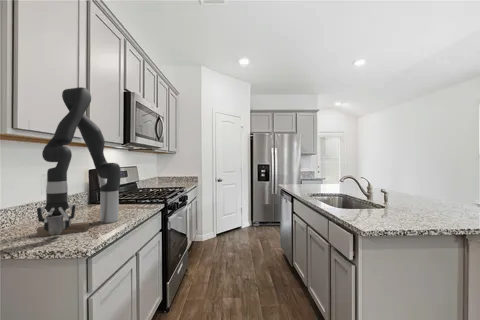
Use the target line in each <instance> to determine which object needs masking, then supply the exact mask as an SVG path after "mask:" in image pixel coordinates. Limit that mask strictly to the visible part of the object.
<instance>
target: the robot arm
mask: <svg viewBox="0 0 480 320" xmlns="http://www.w3.org/2000/svg"><path fill="white" fill-rule="evenodd" d="M61 93H62V94H61V97H62V100H63V103H64V105H65V107H66V108H67V110H68V112H67V114H66V115H65V116H64V117H63V118H62V119H60V121H59V123H58V124H57V127H56V129H55V132H54V135H53V136H52V137H51V138H50V139H49V141H48V142H47V144H46V145H45V146H44V148H43V150H42V151H41V152H42V153H41V154H42V159H43V160H44V161H46V162H48V163H56V165H55V167H51V168H48V169H47V173H46V189H45V192H46V193H45V197H46V199H45V201H46V203H45V206H42V207H41V206H39V207H37V208H36V214H37V221H38V223H39V222H40V223H43V227H44V230H46V231H49V228H48V222H47V219H46V217H45V218H43V217H44V216H43V212H44V211H46V212H47V213H48V214H47V215H46V216H48V217H50V216H51V215H61V214H62V215H63V219H65V220H66V221H65V229H67V228H68V227H69V220H73V219H74V218H75V213H76V206H77V205H76V204H69V203H68V194H69V193H68V192H69V191H68V186H69V185H68V170H69V167H70V163H71V161H72V155H73V154H72V151H71V149H70V148H69V147H68V146H67V145H70V144H72V141H73V139H74V136H75V133H76V131H77V129H78V130H79V132H80V135H81V137H82V139H83V143H84V144H85V145H86V148H87V149H88V152H89V154H90V157H91V160H92V161H93V165H94V168H95V170H96V173H97V175H98V177H99V178H101V179H104V180H106V183H105V184H103V185H101V186H100V194H99V195H100V197H99V198H100V203H99V205H100V212H99V216H100V223H102V224H107V223H109V224H110V223H116V222H118V221H119V211H120V210H119V205H120V203H119V199H120V198H119V197H120V196H119V192H120V191H119V189H120V186H121V175H122V174H121V173H122V172H121V171H122V170H121V166H120V164H119V163H118V162H108V161H107V159H106V157H105V155H104V150H105V144H106V143H105V137H104V135H103V132H102V131H101V129H100V127H99V126H98V125H97V124H96V123H95V122H94V121H93V120H91V119H90V118H89V117H88V116H87V115H86V111H87V110H88V109H89V106H90V104H91V102H92V95H91V92H90V90H89V89H87V88H86V87H79V86H77V87H72V88H66V89H63V91H62V92H61ZM68 209H69V210H70V211H71V213H70V215H68V213H67V210H68Z"/></svg>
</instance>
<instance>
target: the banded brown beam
mask: <svg viewBox="0 0 480 320" xmlns="http://www.w3.org/2000/svg"><path fill="white" fill-rule="evenodd" d="M89 228H90V223H89V221H84V222H75V223H74V222H73V223H71V226H69V227H68V228H67V229H64V230H62V232H61V233H58V235H65V234H70V233H71V234H73V233H80V232H88V231H89V230H90V229H89ZM64 233H65V234H64ZM46 235H48V236H52V235H51V234H49V231H46V230H44V226H38V227H37V228H36V237H38V238H39V237H47V236H46ZM54 235H55V234H54ZM54 235H53V236H54ZM55 236H56V235H55Z"/></svg>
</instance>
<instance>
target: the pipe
mask: <svg viewBox="0 0 480 320" xmlns="http://www.w3.org/2000/svg"><path fill="white" fill-rule="evenodd" d="M45 218H46V219H47V222H48V228H49V234H51V235H50V236H54V234H58V233H61V232H62V230H64V229H65V221H66V219H65V220H64V217H63V215H62V214H61V215H51V216H50V217H48V216H47V215H46V216H45ZM71 224H72V219H70V220H69V226H71ZM58 235H59V234H58Z"/></svg>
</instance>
